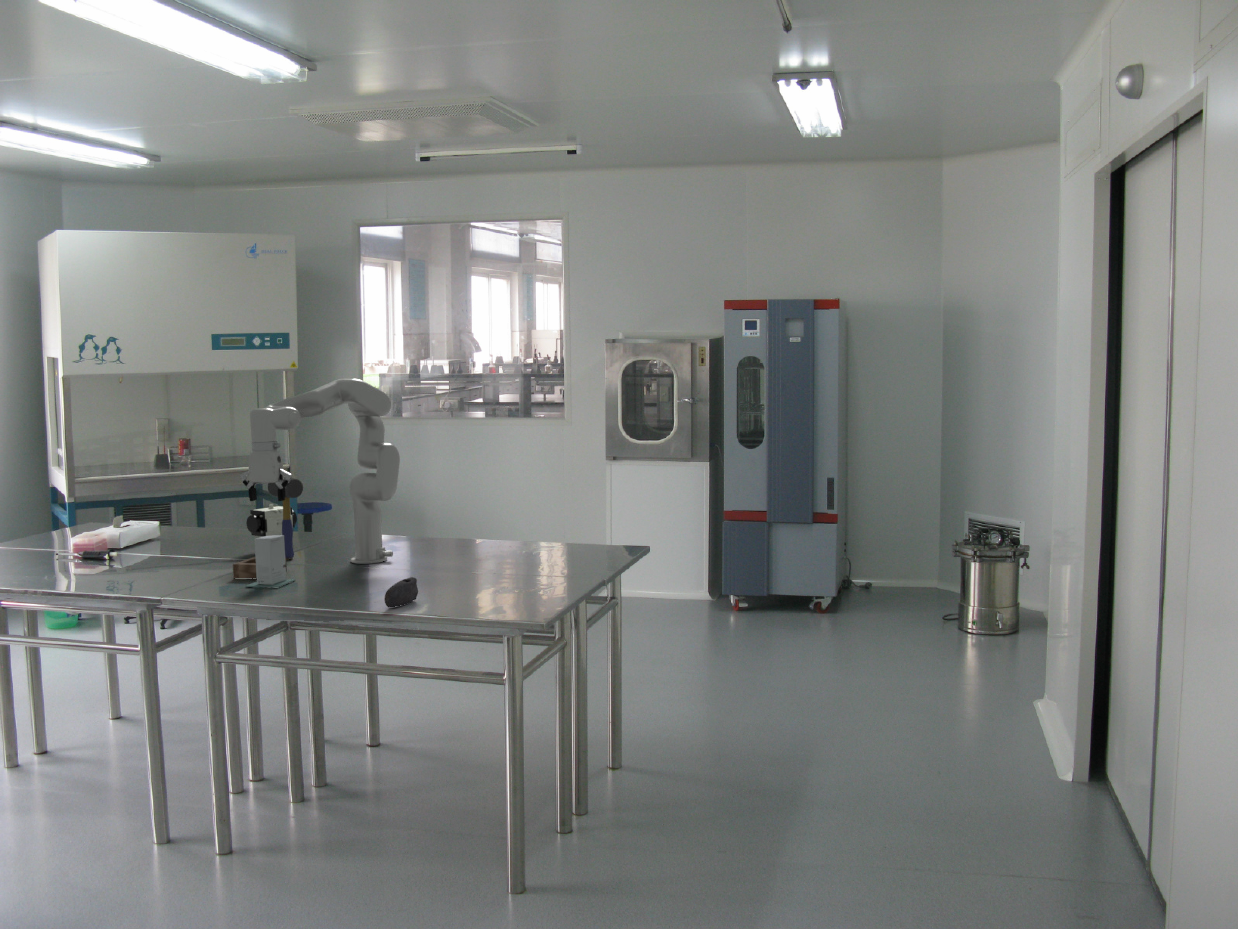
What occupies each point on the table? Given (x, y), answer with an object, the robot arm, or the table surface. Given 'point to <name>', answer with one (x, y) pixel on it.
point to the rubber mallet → (287, 512)
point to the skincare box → (270, 559)
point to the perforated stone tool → (401, 592)
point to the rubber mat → (271, 585)
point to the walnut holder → (246, 568)
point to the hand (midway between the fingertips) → (267, 500)
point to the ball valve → (268, 521)
